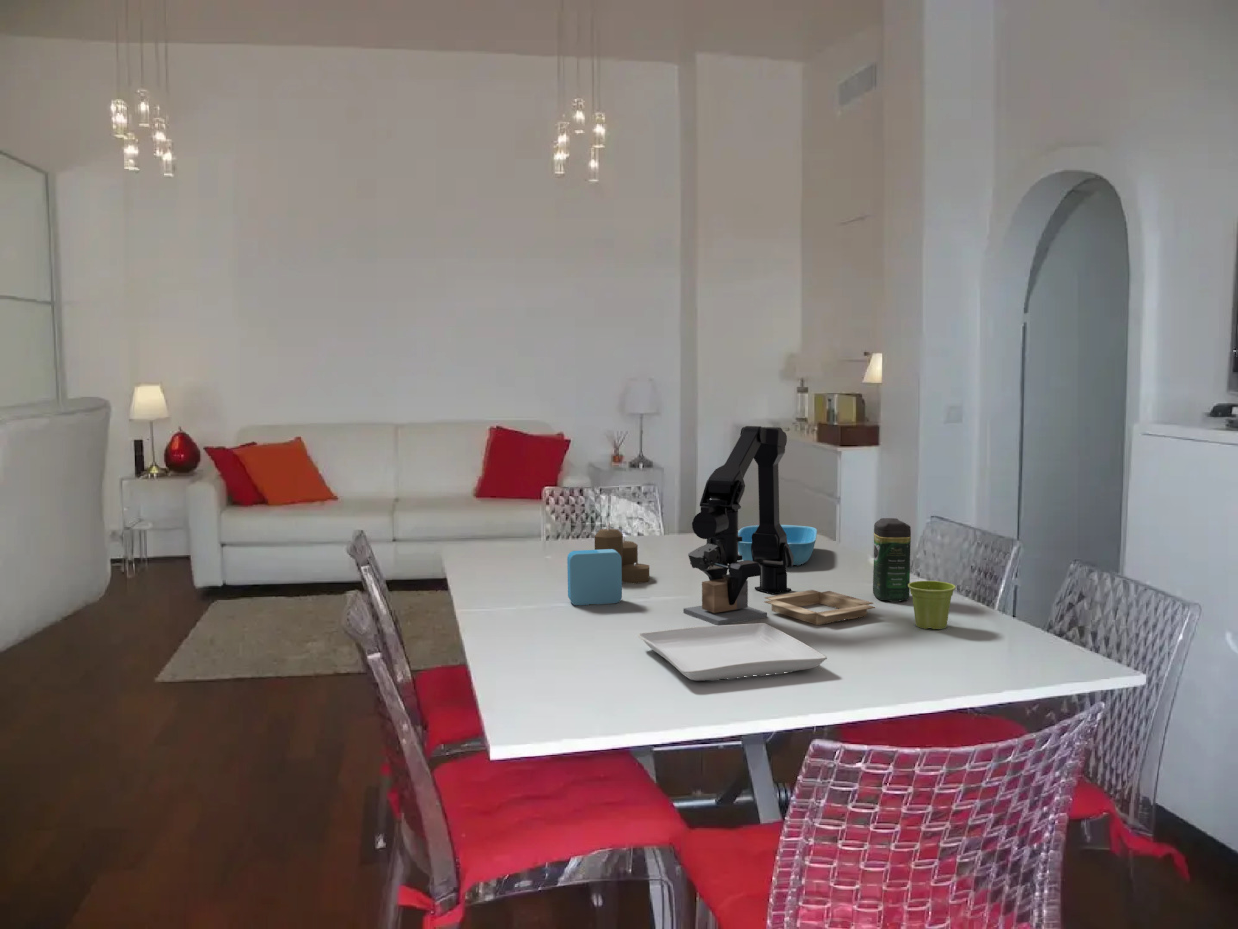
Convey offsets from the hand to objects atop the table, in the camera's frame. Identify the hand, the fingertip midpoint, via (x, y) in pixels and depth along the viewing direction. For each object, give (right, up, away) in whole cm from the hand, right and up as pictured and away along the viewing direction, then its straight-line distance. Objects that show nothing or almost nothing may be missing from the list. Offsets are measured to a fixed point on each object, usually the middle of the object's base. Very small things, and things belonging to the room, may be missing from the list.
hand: (725, 602), depth 223 cm
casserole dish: (+21, +4, +66) cm, 70 cm away
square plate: (-3, -7, -34) cm, 35 cm away
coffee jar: (+40, -1, +15) cm, 43 cm away
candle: (-23, +1, +39) cm, 45 cm away
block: (0, -1, 0) cm, 1 cm away
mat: (0, -3, 0) cm, 3 cm away
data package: (-29, -2, +13) cm, 32 cm away
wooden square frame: (+21, -3, +1) cm, 21 cm away
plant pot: (+42, -4, -11) cm, 43 cm away
